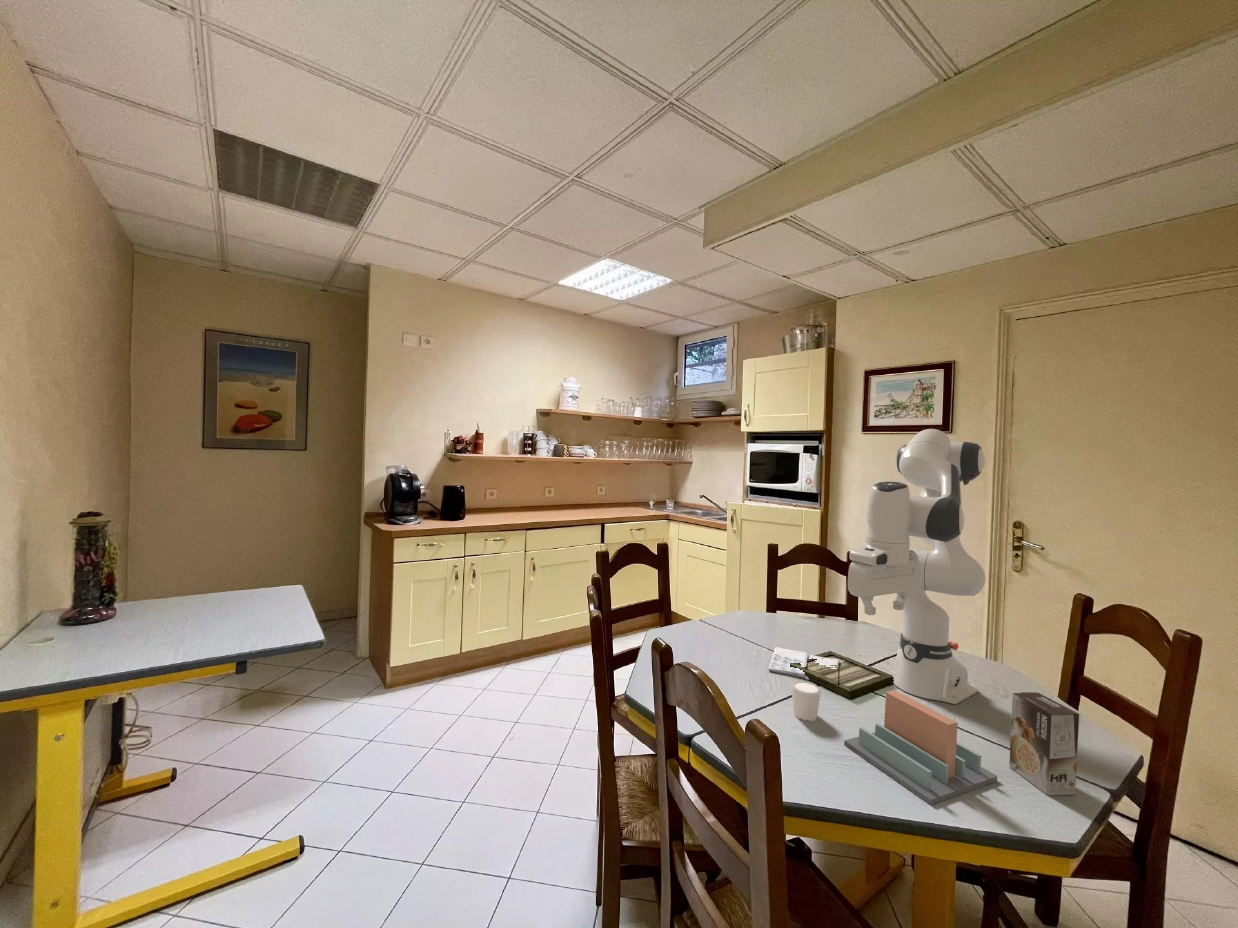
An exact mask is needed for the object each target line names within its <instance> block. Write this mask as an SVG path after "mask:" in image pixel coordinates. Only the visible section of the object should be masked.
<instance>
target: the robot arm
mask: <svg viewBox="0 0 1238 928" xmlns="http://www.w3.org/2000/svg"><path fill="white" fill-rule="evenodd" d="M982 449H983V448H982V447H981V445H979V444H978V443H974V442H970V441H964V442H959V441H951V440H950V437H949V436H948V435H947V434H946V433H945V432H944V431H942V430H940V429H936V428H927V429H923V430H921V431H919V432H918V433H916V434H915V435H914V436H913V437H912V438H911V439H910V441H908V443H906V444H904V445H902V446H901V447H899V449H898V450H897V453H896V457H895V464H896V467H897V470H898V472H899V474H901V476H902V477H903V478H904V479H905V480H906V481H908V483H910V484H912V485H914V486H916V487H919V488H921V491H920V493H919V495H911V494H910V493H911V492H910V487H909V486H908V485H907V484H906V483H903V482H900V481H879V482H876V483H874V484H873V485H872V486H871V489H870V493H869V497H868V503H867V513H866V520H867V521H866V522H867V525H868V530H867V533H866V535H865V536H866V537H865V538H866V539H865V542H863V543H862V544H861V545H859V546H857V547H855V548H853V549H852V550H850V552H849V557H848V558H849V560H850V561H851V563H850V564H849V567H848V572H847V574H848V577H847V589H848V592H849V593H850V594H851V596H852V595H853V596H854V597H858V598H860V600H861V601H862V603H863V606H864V614H865V615H867V616H874V615H876V613H877V612H876V610H877V608H876V606H874V604H873V601H874V597H878V596H885V595H891V594H896V597H895V600H893V601H892V608H893V609H894V610H897V611H902V633H901V634H900V637H899V647H900V648H899V649H898V650H897V652H896V658H895V659H896V660H895V665H894V670H891V674H890V675H891V676H892V678H893V680H894V681H893V684H894V685H895V686H896V687H897V688H899V689H900V690H902V691H903V692H906V693H908V694H910V695H913V696H916V697H919V698H923V699H927V700H932V701H941V702H945V703H948V704H953V705H957V704H958V703H960V702H962V701H965V700H966V699H968V698H969V697H971V696H973V695H975V694H977V692H978V691H979V690H978V687H977V686H975V685H974V684H973V683H971V682H969V679H968V674H969V673H968V670H967V667H966V666H965V665H963V664H962V663H961V662H960V661H959V660H958V659H956V657H955V656H954V655H953V652H952V650H954V651H958V649H959V647H960V646H959V643H958V642H953V641H952V640H949V638H950V637H949V636H950V616H949V614H948V613H947V611H946V610H945V609H944V608H943V607H941V606H940V605H939V604H936V602H933V601H932V600H931V599H930V598H929V596H928V595H927V593H926V591H928V592H934V593H940V594H944V595H950V596H956V597H957V596H958V597H959V596H960V597H964V596H965V597H974V596H976V595H977V594H979V593H981V592H982V590H983V589H984V587H985V584H986V573H985V571H984V568H983V567H982V564H980V563H979V562H978V561H977V560H976V559H975V558H973V557H972V556H971V555H970V553H968V552H967V551H966V549H965V548H964V546H963V545H962V543H961V539H960V535H961V534H962V532H963V530H964V526H965V515H964V514H965V513H964V511H963V508H962V489H961V483H963V485H964V486H967V485H969V483H970V482H971V481H973V480H975V479H977V477H979V476H980V474H981V473H982V472H983V471H982V470H983V469H984V467H985V464H986V456H985V454H984V451H983V450H982ZM910 537H916V538H917V537H918V538H919V539H920V540H921V541H922V542H924V543H925V544H928V545H930V546H931V547H932V548H934V549H933V550H930V551H929V550H921V549H913V548H910V547H911V546H910V545H911V544H910V543H911V539H910Z"/></svg>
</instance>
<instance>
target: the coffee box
mask: <svg viewBox="0 0 1238 928" xmlns="http://www.w3.org/2000/svg"><path fill="white" fill-rule="evenodd" d="M1011 695H1012V699H1011V718H1010V719H1011V722H1010V724H1011V725H1010V738H1009V739H1010V742H1009V743H1010V744H1009V745H1010V746H1009V762H1008V763H1009V764H1008V765H1009V768H1010V769H1011V770H1013V771H1014V772H1015V773H1017V774H1018V775H1019V776H1021V777H1022V778H1024V779H1025V780H1027V781H1028V782H1029V783H1030V784H1032V785H1033V786H1034V787H1036V788H1037V789H1039V790H1040V791H1041V792H1043V793H1044V794H1045V795H1046V796H1074V795H1076V788H1077V786H1076V785H1077V768H1078V767H1077V766H1078V763H1077V762H1078V747H1079V730H1080V728H1079V726H1080V725H1079V724H1080V713H1078V712H1076V711H1074V710H1073V709H1071V708H1069V707H1067V706H1065V705H1062V704H1061V703H1060V702H1057V701H1056V700H1053V699H1052V698H1049V697H1048V696H1045V695H1044V694H1041V692H1037V691H1036V692H1035V691H1034V692H1032V691H1031V692H1029V691H1028V692H1027V691H1025V692H1012V694H1011Z"/></svg>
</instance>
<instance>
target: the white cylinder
mask: <svg viewBox="0 0 1238 928" xmlns="http://www.w3.org/2000/svg"><path fill="white" fill-rule="evenodd" d="M821 691H822V689H821V688H820V686H818V685H816V684H815V683H812V682H809V681H800V680H797V681H793V683H791V694H792V695H791V696H792V713H794V714H793V715H794V716H795V717H796V716H797V717H798V718H797V717H796V718H797V719H800V718H801V719H800V720H802V719H805V720H804V721H806V720H809V721H808V722H813V721H816V720H817V719H818V713H819V706H820V701H821V700H820V699H821V693H822V692H821ZM816 718H817V719H816ZM815 719H816V720H815Z"/></svg>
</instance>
